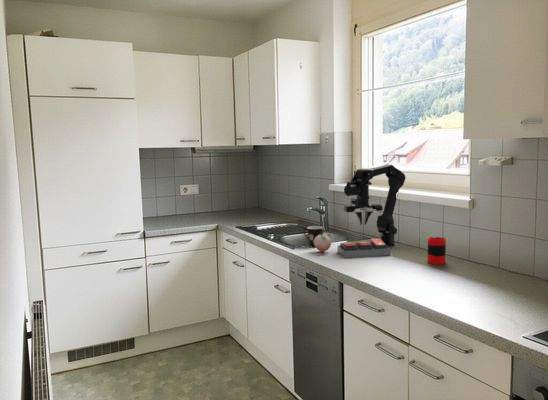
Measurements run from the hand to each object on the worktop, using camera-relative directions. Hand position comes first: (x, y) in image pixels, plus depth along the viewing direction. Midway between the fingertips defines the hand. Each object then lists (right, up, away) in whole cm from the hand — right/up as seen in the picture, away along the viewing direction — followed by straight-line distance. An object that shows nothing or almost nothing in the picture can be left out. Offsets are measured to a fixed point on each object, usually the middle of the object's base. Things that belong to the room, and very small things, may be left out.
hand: (363, 224), depth 237 cm
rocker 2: (+6, -9, -6) cm, 13 cm away
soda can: (+28, -16, -26) cm, 41 cm away
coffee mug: (-23, -12, +15) cm, 30 cm away
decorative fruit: (-20, -14, -1) cm, 25 cm away
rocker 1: (-9, -10, -8) cm, 15 cm away
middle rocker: (-1, -10, -7) cm, 12 cm away
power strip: (-1, -14, -6) cm, 15 cm away
